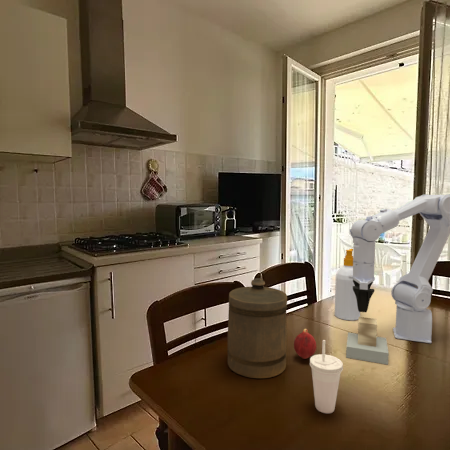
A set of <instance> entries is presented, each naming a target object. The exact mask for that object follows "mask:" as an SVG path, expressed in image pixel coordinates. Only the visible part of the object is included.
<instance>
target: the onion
mask: <svg viewBox="0 0 450 450" xmlns="http://www.w3.org/2000/svg"><path fill="white" fill-rule="evenodd" d="M317 346H318V345H317V342H316V340H315V338H314V336H313V335H312V334H311V333H309V331H308V329H307V328H304V329H303V331H302V332H301V333H300V332H299V334H298V335H296V337H295V338H294V341H293V349H294V351H295V353H296V354H297V355H298V356H299V357H300V358H301V359H302V360H307V359H308V358H309V359H310V358H311V357H312V356H314V355H315V353H316V351H317Z"/></svg>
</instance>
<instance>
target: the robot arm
mask: <svg viewBox="0 0 450 450" xmlns="http://www.w3.org/2000/svg"><path fill="white" fill-rule="evenodd" d="M417 214H420V216H421V217H422V219H423V220H424V221H425V222H426V224H428V226H429V229H428V231H427V233H426V236H425V238H424V240H423V241H422V244H421V247H420V248H419V250H418V252H417V255H416V257H415V259H414V261H413V263H412V265H411V268H410V269H409V271H408V273H407V274H404V275H402V276H400V277H399V279H398V281H397V282H396V283H395V284H394V285H393V286H392V288H391V294H390V295H391V297H392V299H393V300H394V301H395V302H394V303H395V304H394V305H396V310H395V311H396V312H395V313H396V315H395V327H393V328H392V331H393V335H394V338H395V339H397V340H398V339H399V340H406V341H413V342H419V343H427V344H432V335H433V334H432V331H433V313H432V310H431V309H428V307H429V306H430V305H431V302H432V301H431V300H432V293H433V291H434V289H433V287H432V285H431V284H430V282H429V280H430V279H431V276H432V273H433V272H434V269H435V267H436V266H437V265H436V264H437V263H438V261H439V259H440V256H441V254H442V252H443V250H444V248H445V245H446V243H447V241H448V239H449V237H450V193H447V194H426V193H425V194H424V193H423V194H422V195H419V196H416V197H415V198H414V199H412V200H410V201H409V202H407V203H405V204H403V205H401V206H400V207H397V208H395V209H391V208H382V209H380V210H379V212H378V213H376V214H373V215H367V216H366V218H365V219H357V220H356V221H354V222H353V223H352V224H351V227H350V228H349V234H350V236H351V238H352V243H353V248H352V249H353V251H352V256H353V275H349V279H353V283H354V285H355V286H353V291H354V293H355V296H356V299H357V306H358V311H359V312H360V313H367V312H368V309H369V305H370V301H371V298H372V296H373V294H374V292H375V288H371V287H372V285H373V283H374V281H375V279H376V278H375V260H376V259H375V258H376V257H375V256H376V241H377V240H378V239H379V238H380V237H381V235H382V234H384V233H386V232H388V231H390V230H393V229H394V228H397V227H398V226H399V224H400V221H402V220H405V219H408V218H410V217H412V216H415V215H417Z"/></svg>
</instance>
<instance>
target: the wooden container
mask: <svg viewBox="0 0 450 450" xmlns="http://www.w3.org/2000/svg"><path fill="white" fill-rule="evenodd" d="M250 284H251V286H243V287H242V286H241V287H237V288H235V289H232V290H231V291H230V292H229V293H228V316H227V317H228V319H227V320H228V322H227V366H228V367H229V369H230V370H231V371H233V372H234V373H235V374H238V375H240V376H243V377H246V378H251V379H270V378H272V377H276V376H279V375H281V374H282V373H283V372H285V370H286V368H287V341H288V340H287V337H288V336H287V335H288V334H287V309H288V308H287V307H288V295H287V293H286V292H284V291H282V290H281V289H278V288H273V287H270V286H269V287H267V286H265V285H266V281H265V280H264V279H262V278H261V277H259V278H258V277H256V278H254V279H252V280H251V282H250Z"/></svg>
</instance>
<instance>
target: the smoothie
mask: <svg viewBox="0 0 450 450" xmlns="http://www.w3.org/2000/svg"><path fill="white" fill-rule="evenodd" d="M321 348H322V350H321V354H320V353H319V354H313V355H312V356H311V357H309V367H310V368H311V375H312V377H311V378H312V386H313V397H314V406H315V408H316V410H317V411H318V412H321V413H323V414H332V413H333V412H335V409H336V408H335V407H336V403H337V397H338V391H339V385H340V379H341V373H342V372H343V370H344V364H343V361H342V360H341V359H339V358H338V357H336V356H334V355H330V354H326V340H325V339H322V347H321Z"/></svg>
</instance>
